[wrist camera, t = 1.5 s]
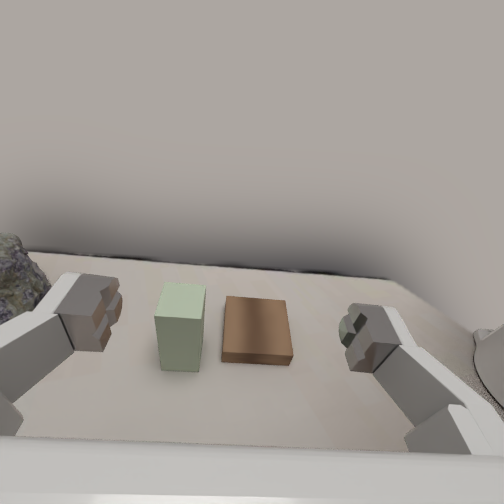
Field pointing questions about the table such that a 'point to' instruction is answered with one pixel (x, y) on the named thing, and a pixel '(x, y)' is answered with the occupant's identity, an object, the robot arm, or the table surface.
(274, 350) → the slab
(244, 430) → the table surface
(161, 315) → the column
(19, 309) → the mineral rock
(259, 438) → the table surface
